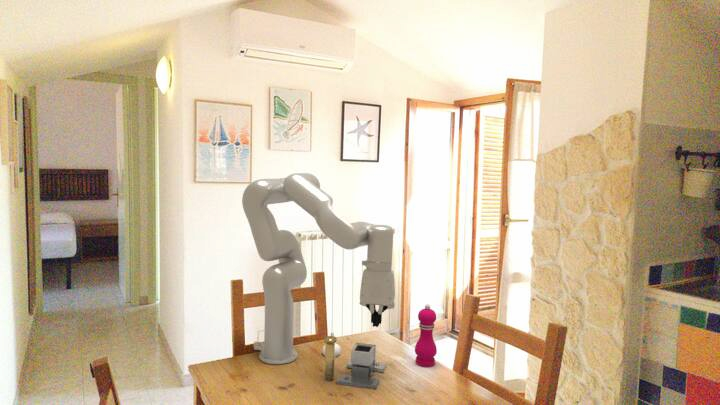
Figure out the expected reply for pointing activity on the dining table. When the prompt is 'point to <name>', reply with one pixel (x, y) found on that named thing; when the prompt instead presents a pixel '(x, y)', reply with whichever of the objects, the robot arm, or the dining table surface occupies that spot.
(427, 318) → the pepper mill
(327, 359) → the hinge pin
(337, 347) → the garlic bulb
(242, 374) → the dining table surface
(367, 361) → the square tube bracket
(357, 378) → the fixed leaf
